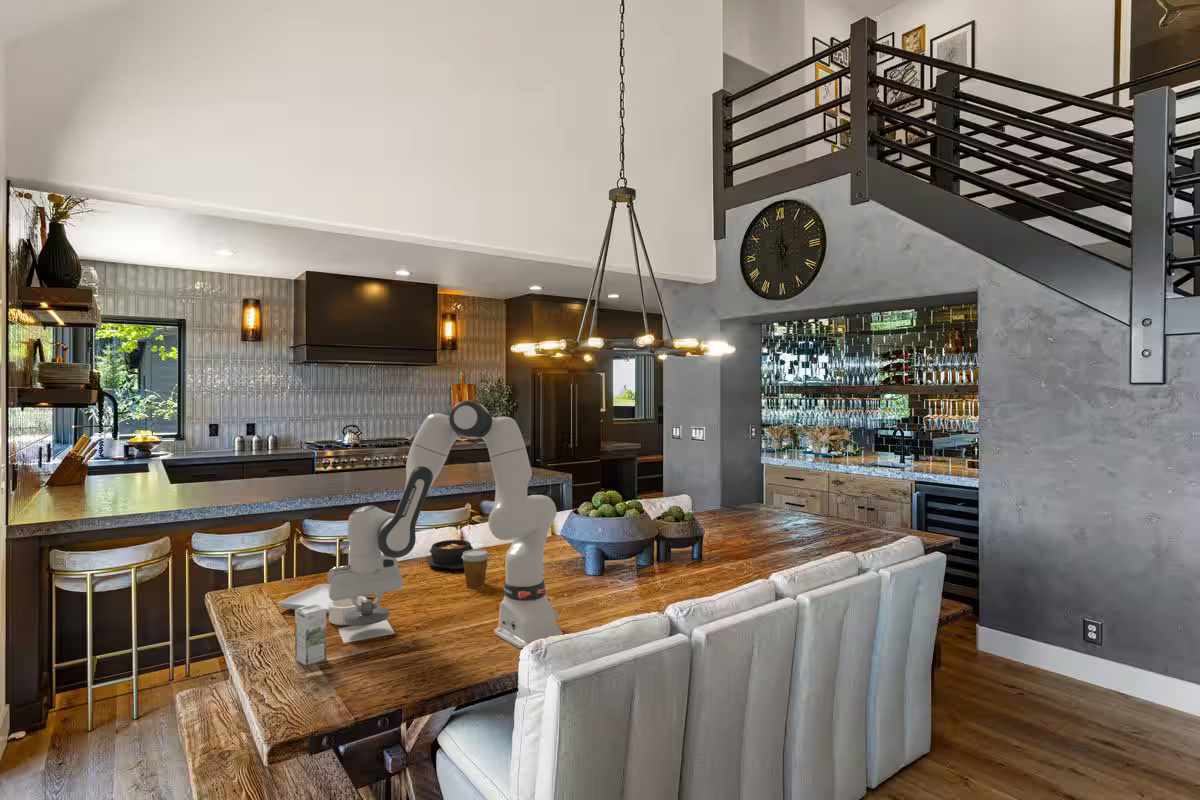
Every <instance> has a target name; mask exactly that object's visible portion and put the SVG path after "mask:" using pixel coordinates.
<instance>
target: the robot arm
mask: <svg viewBox="0 0 1200 800" xmlns="http://www.w3.org/2000/svg"><path fill="white" fill-rule="evenodd" d="M458 439H460V440H461V439H462V440H463V439H464V440H473V441H474V440H480V439H482V440H483V442H484V443H485V444H486V447H487V450H488V455H489V460H490V463H491V469H492V472H493V476H494V483H495V493H494V494H495V495H494V496H495V497H494V504H493V507H492V509H491V512H490V513H489V516H488V521H487V522H488V523H487V524H488V527H489V531H490V533H491V534H492V536H494V537H495V538H496V539H498V540H500V541H512V542H511V544H510V545H511V546H510V547H509V548H508V550H507V552H506V555H505V558H504V561H505V563H504V564H505V565H504V566H505V567H504V568H505V573H504V574H505V580H504V583H503V594H504V596H503V599H502V600H501V602H500V604H499V613H498V626H497V627H496V628H494V630H493V634H495V635H496V636H497V637H499V638H501V639H503V640H504V641H506V642H508V643H509V644H511V645H514V646H515V647H516V648H518V649H522V648H523V647H524V646H525V645H527V644H528V643H530V642H532V641H534V640H536V639H540V638H543V637H547V636H552V635H559V634H564V633H563V632H562V630H561V628H560V627H559V626H558V624H557V620H556V619H558V618H559V614H558V610H553V608H552V607H553V606H552V605H553V604H552V602H550V601H549V600H548V597H547V591H546V584H545V580H544V577H543V576H544V573H543V572H544V571H543V570H544V564H543V563H544V552H545V547H546V542H547V538H548V534H549V532H550V531H549V530H550V528H551V526H552V524H553V522H554V520H555V519H556V516H557V507H556V504H555V502H554V501H553V499H552V498H551V497H549V496H547V495H544V494H543V495H542V494H531V495H528V488H529V486H528V485H529V481H530V480H531V478H532V475H533V474H532V473H533V472H532V467H531V464H530V463H531V462H530V459H529V456H528V452H527V448H526V447H527V446H526V443H525V440H524V438H523V435H522V432H521V430H520V427H519V425H518V423H517V421H516V420H515V419H514V418H512V417H509V416H498V417H494V416H492V415H491V413H490V411H489V410H488V409H487V408H486V407H485V406H484V405H482V404H481V403H479V402H477V401H474V400H471V399H470V400H468V399H467V400H462V401H459V402H458V403H456V404H455V405H454V406H453V407H452V408H451V410H450V413H449V415H447V414H444V413H430V414H429V415H428V416H426V418H425V419H424V421H423V422H422V424H421V425H420V427H419V429H418V431H417V432H416V434H415V437H414V438H413V441H412V443H411V445H410V448H409V452H408V454H407V458H406V459H407V460H406V465H405V473H406V479H405V486H404V490H403V492H402V496H401V498H400V501H399V504H398V506H397V508H396V511H395V513H392V512H388V511H386V510H383V509H381V508H379V507H377V506H376V505H366V506H365V505H364V506H362V507H359V508H357V509H354V510H353V511H352V512H351V513H350V514H349V517H348V521H347V523H348V524H347V541H348V543H349V549H348V564H347V565H346V564H345V565H342V566H334V567H332V568H331V569H330V570H329V571H328V572H327V574H326V575H327V577H326V578H327V580H326V581H327V583H328V584H329V598H330V599H331V600H332V601H337V600H343V599H349V598H351V600H352V602H353V603H354V605H355V609H356V612H360V611H362V609H361V608H362V605H361V604H357V603H356V601H357V597H360V596H365V597H366V596H371V595H375V596H376V598H375V599H374V601H373V609H377V608H378V606H379V602H380V601H381V599H382V597H383V595H382V594H383V593H388V592H392V591H399V590H401V589H402V588H403V576H402V571H401V569H400V568H399V566H398V564H399V563H398V558H403V557H405V556H407V555H408V554H410V553H411V552H412V550H413V548H414V547H415V544H416V537H417V536H416V535H417V534H416V525H417V521H418V518H419V515H420V513H421V511H422V508H423V505H424V502H425V500H426V498H427V496H428V493H429V491H430V489H431V488H432V486H433V484H434V482H435V480H436V479H437V478H438V476H439V474H440V472H441V471H442V470H443V466H444V465H445V464H446V463H445V462H446V461H447V459H448V456H449V453H450V451H451V449H452V447H453V445H454V443H455V442H456V441H457V440H458Z"/></svg>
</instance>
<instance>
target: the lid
mask: <svg viewBox="0 0 1200 800" xmlns="http://www.w3.org/2000/svg"><path fill="white" fill-rule="evenodd" d="M373 602H374V601H373V599H367V600H363V601H361V605H362V608H361V609H362V611H360V612H356V609H355V610H352V611H350V612H348V613H347V614H346V615H345V616H344V621H345V623H346V624H349V625H348V626H355V625H356V626H360V625H370V624H375V623H378V622H381V621H384V620H387V619H388V618H389V617H390V609H389V608H387V607H385V606H379V605H378V608H377V609H373Z"/></svg>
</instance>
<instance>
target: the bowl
mask: <svg viewBox="0 0 1200 800" xmlns="http://www.w3.org/2000/svg"><path fill="white" fill-rule="evenodd" d="M363 600H368V598H367V597H366V596H365V597H363V596H360V597H357V601H356V603H357V604H361V601H363ZM352 610H355V605H354V603H353V602H352V600H351V598H349V599H343V600H337V601H331V602H329V613H328V619H329V622H330V623H331V624H333V625H335V626H350V625H349V624H346V623H345V621H344V616H345V615H346V614H347V613H348V612H350V611H352Z"/></svg>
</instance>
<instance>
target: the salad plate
mask: <svg viewBox="0 0 1200 800" xmlns="http://www.w3.org/2000/svg"><path fill="white" fill-rule="evenodd" d="M363 597H366V596H363ZM331 601H332V600H331V599H330V598H329V583H319V584H317V585H314V586H312V587H310V588H307V589H305V590H303V591H301V592H298V593H296V594H295V593H294V595H291V596H288V597H287V598H284V599H282V600H280V601H278V602H277V603H278V605H280V606H281V607H283V608H285V609H289V610H294V611H295V609H298V608H302V607H305V606H309V605H312V604H318V605H321V606H322V607H324V608H325V609H326V615H327V614H329V602H331Z"/></svg>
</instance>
